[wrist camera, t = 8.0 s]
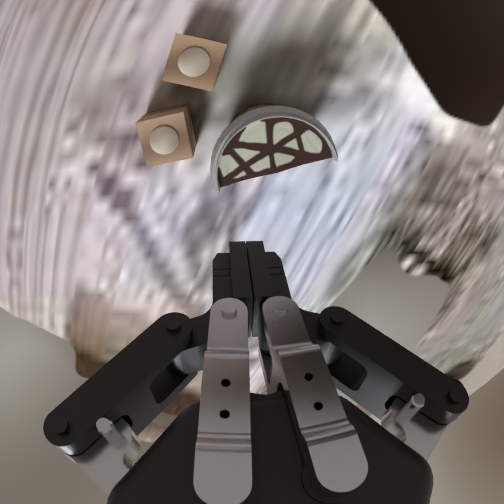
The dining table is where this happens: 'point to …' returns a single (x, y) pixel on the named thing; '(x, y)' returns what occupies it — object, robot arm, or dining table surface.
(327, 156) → the food container
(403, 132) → the dining table surface
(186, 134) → the marked block
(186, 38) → the marked block
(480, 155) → the dining table surface
